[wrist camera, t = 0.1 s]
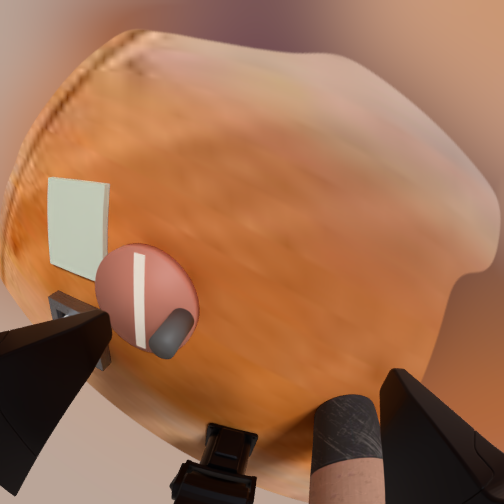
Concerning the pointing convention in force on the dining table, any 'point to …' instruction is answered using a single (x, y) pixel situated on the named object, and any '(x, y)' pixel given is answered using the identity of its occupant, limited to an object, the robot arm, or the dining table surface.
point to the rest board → (77, 224)
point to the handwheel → (147, 298)
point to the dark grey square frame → (71, 306)
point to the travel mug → (347, 453)
